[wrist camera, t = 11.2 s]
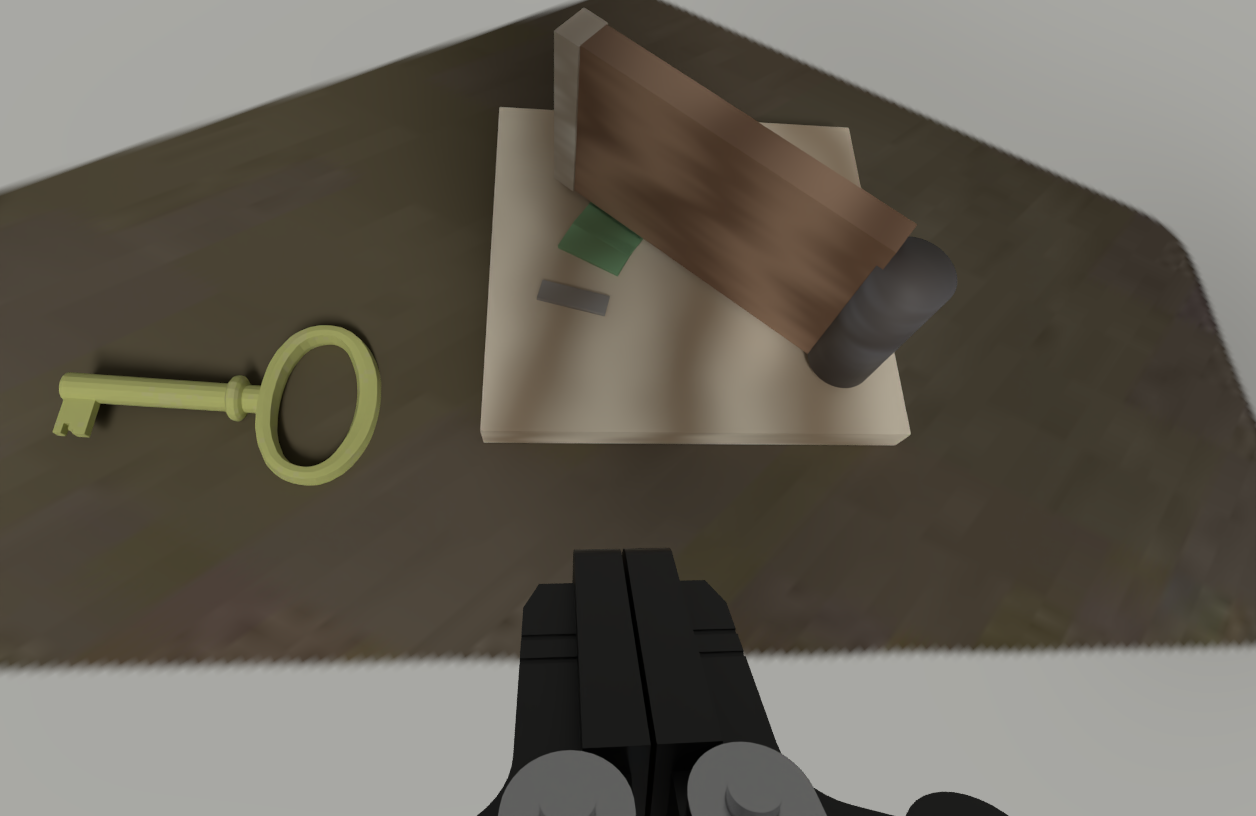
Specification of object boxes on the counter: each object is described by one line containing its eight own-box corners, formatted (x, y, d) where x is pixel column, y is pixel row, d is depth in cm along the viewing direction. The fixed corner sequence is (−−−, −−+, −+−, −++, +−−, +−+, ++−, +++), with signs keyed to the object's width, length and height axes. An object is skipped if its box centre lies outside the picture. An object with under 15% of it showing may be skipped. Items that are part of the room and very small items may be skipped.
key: (77, 393, 28) (42, 372, 26) (370, 327, 31) (359, 303, 29) (86, 553, 26) (48, 543, 24) (402, 467, 29) (391, 451, 27)
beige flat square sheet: (483, 442, 29) (479, 429, 27) (501, 128, 36) (499, 103, 34) (894, 445, 31) (913, 433, 29) (837, 148, 38) (850, 125, 36)
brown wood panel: (546, 185, 32) (543, 38, 25) (584, 150, 33) (593, -1, 26) (851, 400, 29) (950, 307, 22) (882, 354, 30) (987, 251, 23)
